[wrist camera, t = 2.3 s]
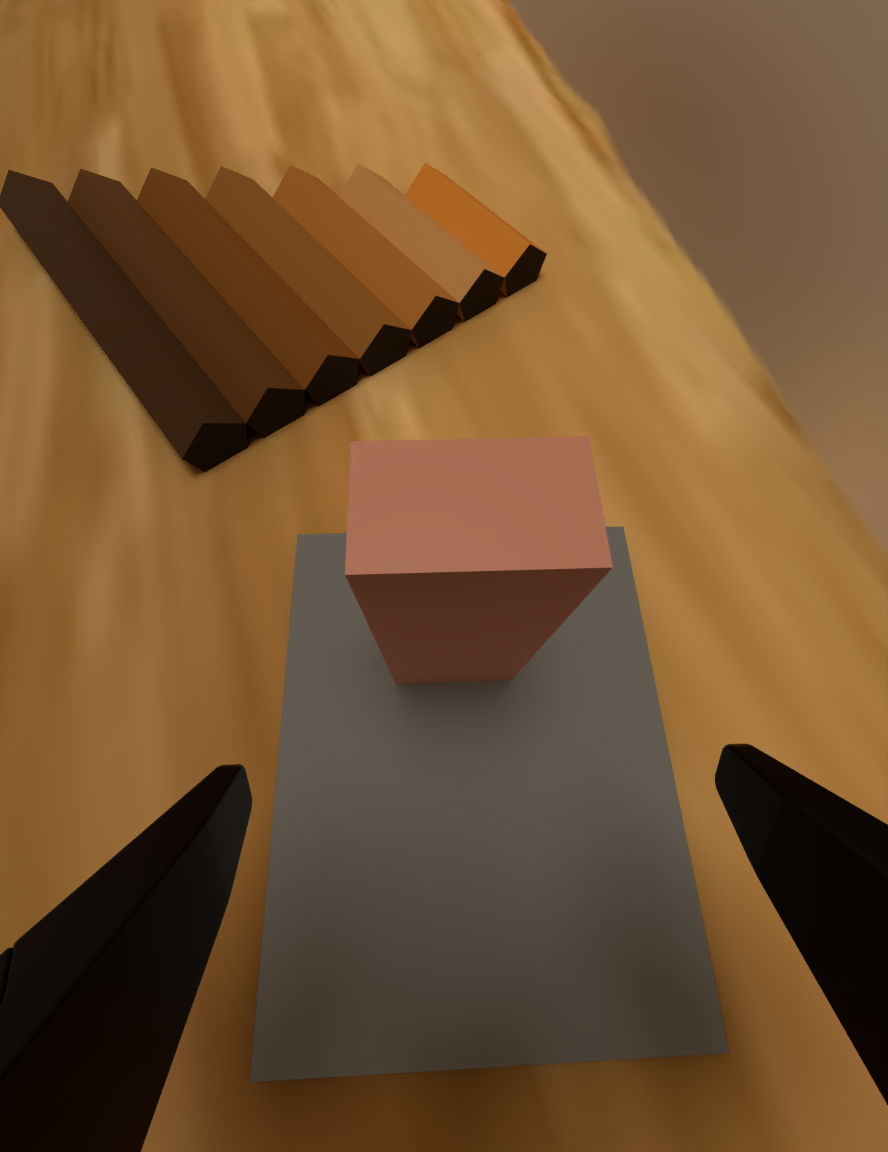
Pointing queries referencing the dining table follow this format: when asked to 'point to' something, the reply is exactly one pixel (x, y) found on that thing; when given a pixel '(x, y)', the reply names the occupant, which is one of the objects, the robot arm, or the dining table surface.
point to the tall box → (471, 550)
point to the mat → (475, 854)
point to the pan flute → (263, 286)
